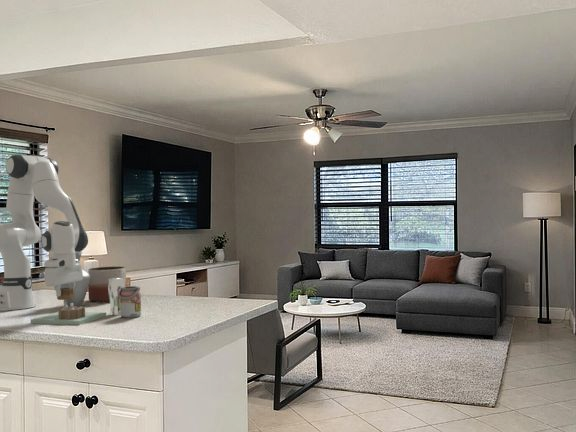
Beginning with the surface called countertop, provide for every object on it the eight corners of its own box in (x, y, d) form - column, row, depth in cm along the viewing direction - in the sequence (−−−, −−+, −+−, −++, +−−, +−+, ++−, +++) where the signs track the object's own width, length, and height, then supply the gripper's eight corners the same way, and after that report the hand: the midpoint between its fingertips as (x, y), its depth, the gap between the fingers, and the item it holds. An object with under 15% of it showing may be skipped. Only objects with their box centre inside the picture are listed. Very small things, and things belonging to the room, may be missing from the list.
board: (30, 323, 222) (30, 305, 222) (60, 314, 239) (60, 298, 239) (79, 324, 216) (79, 306, 216) (106, 316, 234) (106, 299, 234)
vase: (76, 309, 254) (74, 253, 254) (50, 307, 259) (49, 253, 259) (97, 303, 267) (96, 250, 267) (72, 302, 272) (71, 250, 272)
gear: (54, 299, 230) (54, 289, 230) (63, 297, 236) (63, 287, 236) (67, 299, 229) (66, 289, 229) (76, 297, 235) (76, 287, 235)
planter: (111, 296, 291) (110, 265, 291) (134, 298, 281) (133, 267, 281) (81, 301, 277) (80, 269, 277) (103, 304, 266) (102, 270, 266)
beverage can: (134, 319, 226) (134, 289, 225) (115, 319, 227) (114, 289, 227) (144, 314, 235) (144, 286, 235) (125, 314, 236) (125, 286, 236)
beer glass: (110, 316, 233) (109, 279, 233) (107, 313, 239) (106, 278, 239) (127, 314, 237) (126, 278, 236) (124, 312, 243) (123, 277, 243)
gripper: (73, 258, 243) (74, 291, 243) (41, 263, 223) (42, 298, 224) (86, 258, 242) (87, 291, 242) (54, 263, 222) (55, 298, 222)
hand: (65, 294), depth 232 cm, fingers closed on gear, 6 cm apart
